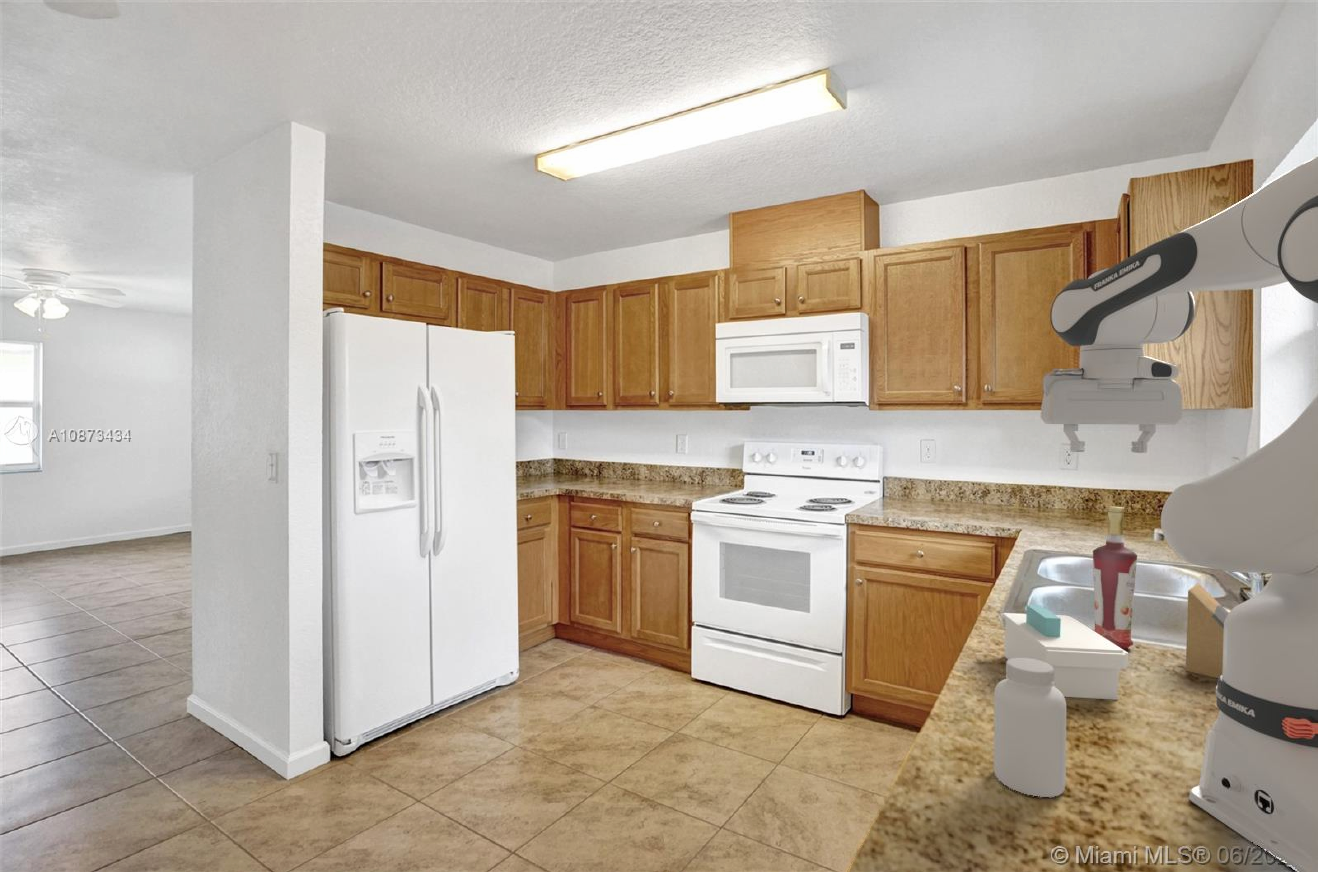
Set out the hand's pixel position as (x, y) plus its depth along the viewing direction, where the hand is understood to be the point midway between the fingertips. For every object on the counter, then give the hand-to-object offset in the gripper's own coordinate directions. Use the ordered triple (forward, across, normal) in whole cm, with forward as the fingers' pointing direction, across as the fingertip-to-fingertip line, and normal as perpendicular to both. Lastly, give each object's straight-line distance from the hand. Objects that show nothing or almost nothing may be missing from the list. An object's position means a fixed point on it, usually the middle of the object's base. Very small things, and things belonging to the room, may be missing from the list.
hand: (1107, 452), depth 111 cm
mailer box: (+40, -5, +5) cm, 41 cm away
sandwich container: (+41, +28, +10) cm, 51 cm away
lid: (+35, -4, +5) cm, 35 cm away
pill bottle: (+40, -24, -32) cm, 56 cm away
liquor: (+41, +13, +23) cm, 49 cm away
